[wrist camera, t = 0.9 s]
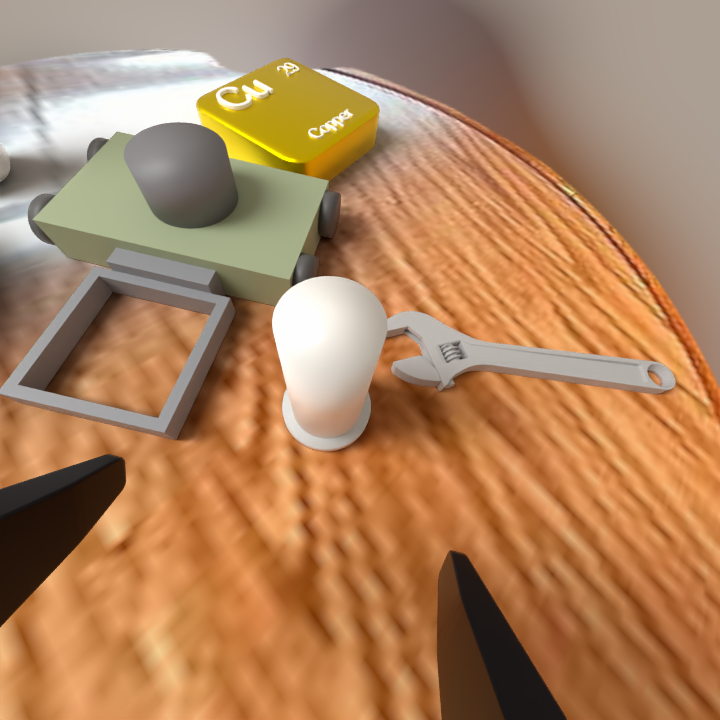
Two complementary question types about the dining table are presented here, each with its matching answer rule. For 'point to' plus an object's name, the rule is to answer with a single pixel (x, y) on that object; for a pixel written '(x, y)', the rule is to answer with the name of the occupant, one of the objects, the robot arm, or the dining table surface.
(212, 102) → the element tile
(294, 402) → the white cylindrical piece
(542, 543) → the dining table surface
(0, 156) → the plastic bottle
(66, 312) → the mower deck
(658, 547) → the dining table surface
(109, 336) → the dining table surface
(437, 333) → the adjustable wrench
